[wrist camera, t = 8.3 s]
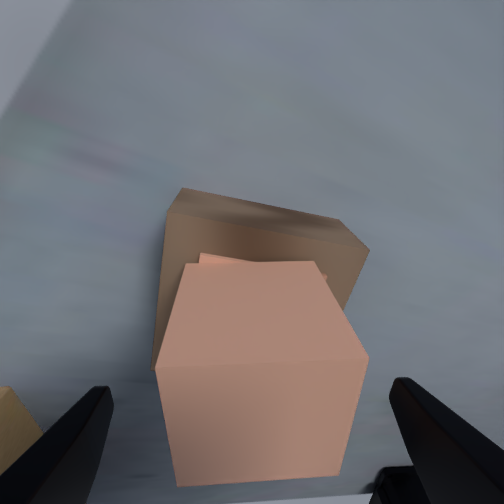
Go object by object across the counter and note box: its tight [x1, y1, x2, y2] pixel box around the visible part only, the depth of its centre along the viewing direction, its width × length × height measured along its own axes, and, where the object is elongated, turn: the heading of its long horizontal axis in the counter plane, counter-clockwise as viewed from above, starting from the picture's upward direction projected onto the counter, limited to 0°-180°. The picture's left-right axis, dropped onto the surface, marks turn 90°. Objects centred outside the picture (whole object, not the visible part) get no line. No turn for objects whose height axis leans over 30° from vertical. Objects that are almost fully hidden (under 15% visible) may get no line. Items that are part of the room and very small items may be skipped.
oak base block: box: [150, 188, 370, 371], centre depth 14 cm, size 8×8×4 cm
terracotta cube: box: [155, 261, 369, 487], centre depth 10 cm, size 5×5×5 cm
